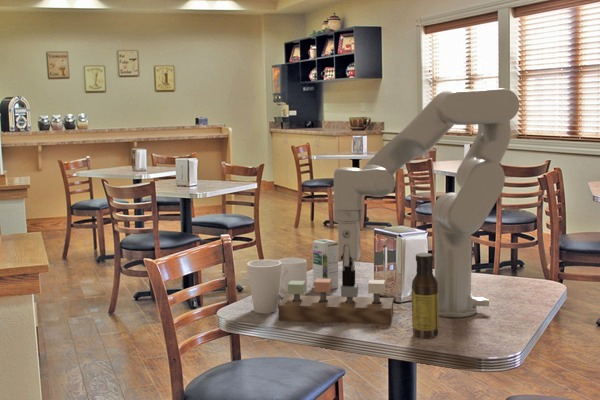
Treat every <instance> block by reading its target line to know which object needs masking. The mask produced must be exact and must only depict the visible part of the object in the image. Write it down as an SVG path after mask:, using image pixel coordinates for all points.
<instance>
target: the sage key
mask: <svg viewBox="0 0 600 400" xmlns="http://www.w3.org/2000/svg"><path fill="white" fill-rule="evenodd" d="M305 291H306V285H305V281H290V282H289V283H288V294H294V302H300V294H304V292H305Z"/></svg>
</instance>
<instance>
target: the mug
mask: <svg viewBox="0 0 600 400" xmlns="http://www.w3.org/2000/svg"><path fill="white" fill-rule="evenodd" d="M278 261H281V263H282V272H281V279H280V288H279V297H280V298H282V299H283V298H284V297H285V296H286V295H294V294H288V283H289V282H290V281H305V285H306V291H305V292H304V294H300V296H307V294H308V282H307V281H308V277H307V276H308V275H307V272H308V271H307V269H308V268H307V259H305V258H302V257H285V258H281V259H278Z"/></svg>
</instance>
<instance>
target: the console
mask: <svg viewBox="0 0 600 400" xmlns="http://www.w3.org/2000/svg"><path fill="white" fill-rule="evenodd" d="M277 309H278V321H288V322H290V321H293V322H315V323H316V322H320V323H326V322H327V323H353V324H381V325H392V322H393V321H392V320H393V317H394V297H380V304H374V296H372V297H368V296H366V297H365V296H363V297H362V296H357V297H353V303H347V297H341V296H336V295H335V296H333V295H331V296H330V295H329V296H328V295H326V303H323V302H320V295H305V296H300V302H294V295H286V296H285V297H284V298H283V297H282V300H281V301H280V303H278V307H277Z"/></svg>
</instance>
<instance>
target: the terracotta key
mask: <svg viewBox="0 0 600 400" xmlns="http://www.w3.org/2000/svg"><path fill="white" fill-rule="evenodd" d="M313 289H314V292H315V293H319V296H320V302H323V303H326V296H327V293H330V292H331V291H332V290H333V289H332V279H320V278H317V279H316V280H315V282H314V288H313Z"/></svg>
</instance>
